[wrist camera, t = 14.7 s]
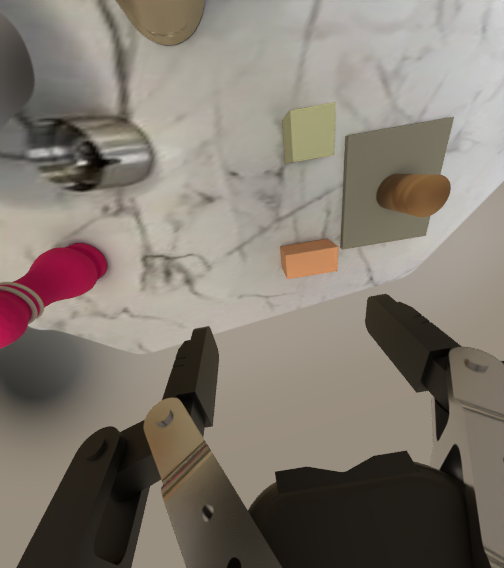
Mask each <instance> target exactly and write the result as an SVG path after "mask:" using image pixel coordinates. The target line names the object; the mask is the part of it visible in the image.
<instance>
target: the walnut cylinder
mask: <svg viewBox="0 0 504 568" xmlns="http://www.w3.org/2000/svg"><path fill="white" fill-rule="evenodd" d="M449 194H450V182H449V180H448V179H447V178H446V177H445V176H443V175H431V174H393V175H390V176H388V177H387V178H386V179H384V180H383V182H382V183H381V184H380V186H379V188H378V190H377V194H376V199H377V202H378V204H379V205H380V206H381V207H383V208H386V209H390V210H394V211H397V212H401V213H405V214H409V215H413V216H417V217H428V216H430V215H432V214H434V213H436V212H437V211H438V210H440V209H441V208H442V206H443V205H444V204H445V202H446V201H447V199H448V197H449Z"/></svg>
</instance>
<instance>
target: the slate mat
mask: <svg viewBox="0 0 504 568" xmlns="http://www.w3.org/2000/svg"><path fill="white" fill-rule="evenodd" d="M453 119H454V117H450V118H445V119H439V120H433V121H428V122H422V123H416V124H410V125H405V126H399V127H393V128H388V129H382V130H376V131H370V132H365V133H359V134H353V135H348V136H346V139H345V160H344V182H343V203H342V224H341V246H340V248H341V249H348V248H354V247H360V246H366V245H372V244H378V243H384V242H390V241H396V240H402V239H408V238H414V237H420V236H426V232H427V228H428V224H429V219H430V216H428V217H417V216H413V215H409V214H405V213H401V212H397V211H394V210H390V209H386V208H383V207H381V206H380V205H379V204H378V202H377V199H376V194H377V190H378V188H379V186H380V184H381V183H382V182H383V180H384V179H386V178H387V177H388V176H390V175H393V174H431V175H440V173H441V169H442V165H443V161H444V156H445V152H446V148H447V144H448V140H449V135H450V131H451V127H452V123H453Z"/></svg>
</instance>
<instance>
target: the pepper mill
mask: <svg viewBox="0 0 504 568" xmlns="http://www.w3.org/2000/svg"><path fill="white" fill-rule="evenodd" d="M106 270H107V263H106V260H105V258H104V256H103V255H102V253H101V252H100V251H99V250H97V249H96V248H95V247H93V246H90V245H88V244H84V243H75V244H72V245H70V246H67V247H65V248H54V249H51V250H48V251H46V252H45V253H43V254H41V255H40V256H39V257H38V258H37V259H36V260H35V261H34V263H33V264H32V266H31V268H30V270H29V271H28V273H27V274H26V275H25V276H23V277H22V278H20V279H18V280H16V281H14V282H2V283H0V348H3V347H5V346H7V345H9V344H11V343H13V342H14V341H16V340H17V339H18V338H19V337H21V336H22V335H23V334H24V332H25V331H26V328H27V326H28V324H30V323H32V322H33V321H34V320H35V319H37V318H39V317H40V316H41V315H42V313H43V311H44V307H46V306H48V305H49V304H51V303H53V302H56V301H59V300H64V299H69V298H73V297H77V296H79V295H82V294H84V293H86V292H87V291H89V290H90V289H92V288H93V286H94V285H95V284H96V281H97V280H98V279H99V278H100V277H102V276H103V275H104V274H105V272H106Z"/></svg>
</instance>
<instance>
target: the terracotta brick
mask: <svg viewBox="0 0 504 568" xmlns="http://www.w3.org/2000/svg"><path fill="white" fill-rule="evenodd" d="M280 249H281V260H282V269H283V271H284V273H285V275H286V277H287V279H291V278H297V277H303V276H309V275H315V274H321V273H328V272H334V271H337V269H338V246H337V245H335V244H334V243H333V242H331V241H330V240H329V239H323V240H317V241H311V242H305V243H299V244H293V245H287V246H281V247H280Z"/></svg>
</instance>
